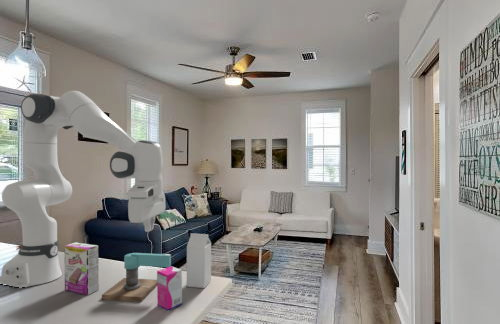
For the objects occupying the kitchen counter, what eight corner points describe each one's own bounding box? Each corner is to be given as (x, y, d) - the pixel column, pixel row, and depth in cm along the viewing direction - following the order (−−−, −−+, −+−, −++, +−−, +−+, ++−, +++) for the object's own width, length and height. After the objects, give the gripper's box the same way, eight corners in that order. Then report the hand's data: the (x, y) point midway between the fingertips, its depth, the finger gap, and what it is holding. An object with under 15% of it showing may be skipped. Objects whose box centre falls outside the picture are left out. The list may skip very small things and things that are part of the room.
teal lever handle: (121, 268, 104) (121, 255, 104) (129, 263, 109) (129, 250, 109) (167, 271, 102) (167, 257, 102) (172, 265, 107) (172, 252, 107)
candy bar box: (63, 291, 105) (63, 245, 105) (75, 285, 110) (75, 241, 110) (87, 296, 102) (87, 248, 102) (99, 290, 107) (99, 244, 106)
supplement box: (171, 299, 100) (171, 265, 100) (182, 304, 97) (182, 269, 96) (156, 305, 96) (156, 270, 96) (167, 311, 92) (167, 275, 92)
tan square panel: (101, 299, 100) (101, 273, 100) (123, 281, 114) (124, 259, 114) (141, 301, 98) (141, 275, 98) (159, 283, 112) (159, 260, 112)
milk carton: (204, 288, 108) (205, 237, 108) (186, 286, 110) (186, 235, 110) (211, 280, 115) (211, 232, 115) (193, 279, 117) (194, 231, 117)
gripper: (153, 186, 109) (153, 223, 109) (124, 192, 89) (124, 238, 89) (169, 186, 109) (170, 224, 109) (144, 192, 88) (144, 239, 88)
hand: (149, 230), depth 99 cm, fingers closed
